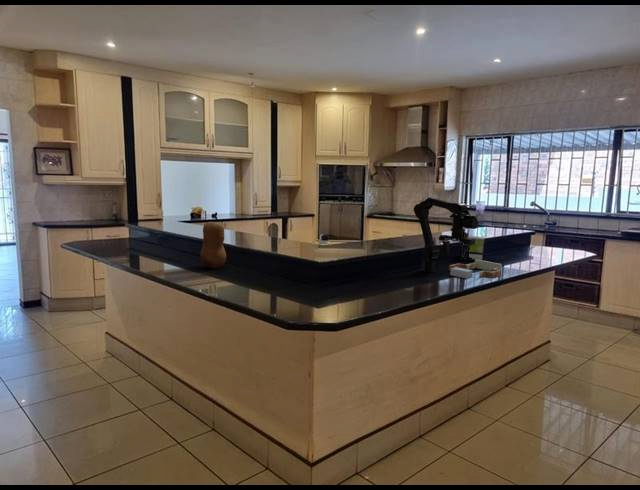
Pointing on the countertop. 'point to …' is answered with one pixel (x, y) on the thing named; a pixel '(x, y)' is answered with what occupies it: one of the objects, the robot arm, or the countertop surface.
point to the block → (461, 272)
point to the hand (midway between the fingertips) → (455, 255)
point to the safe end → (487, 265)
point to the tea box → (476, 248)
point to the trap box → (493, 273)
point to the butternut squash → (213, 245)
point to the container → (324, 239)
